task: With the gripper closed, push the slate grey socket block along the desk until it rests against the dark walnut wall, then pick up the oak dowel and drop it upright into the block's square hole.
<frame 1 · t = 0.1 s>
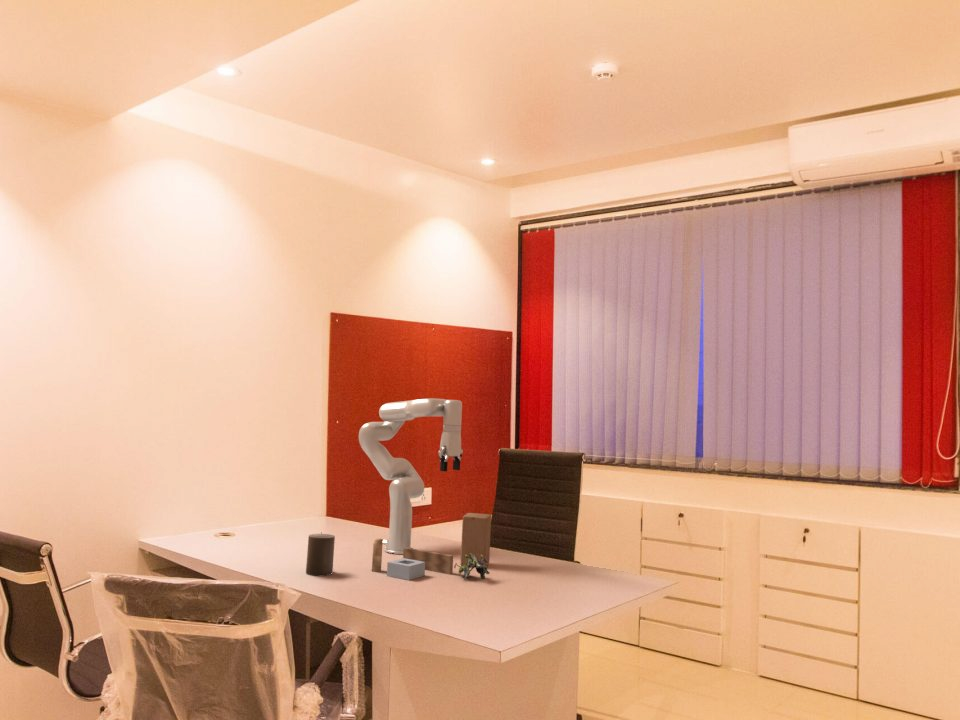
hand: (450, 470, 320), 37 cm above the table, tool pointing down, fingers open, 9 cm apart
socket block: (406, 568, 285), point 3 cm above the table, slide at 0.0 cm
pillar candle: (319, 573, 284), on the table
wooden block: (474, 565, 311), on the table
passion flower: (472, 579, 286), on the table
walnut wall: (427, 570, 297), on the table
oak dowel: (376, 571, 291), on the table
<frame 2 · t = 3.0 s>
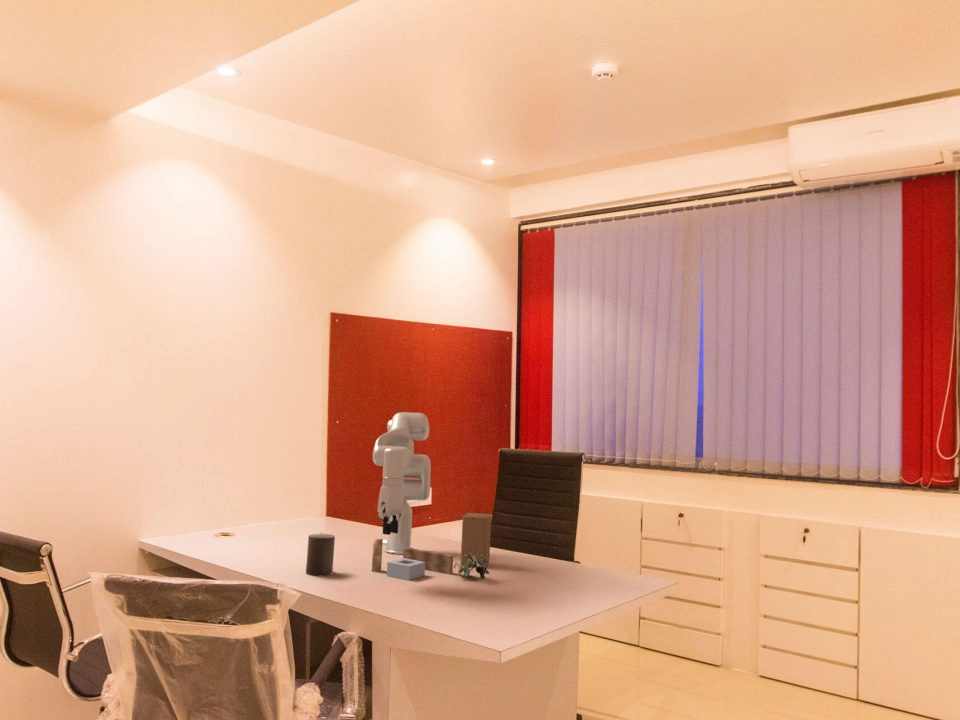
hand: (390, 533, 277), 17 cm above the table, tool pointing down, fingers open, 3 cm apart
nothing on the table moved.
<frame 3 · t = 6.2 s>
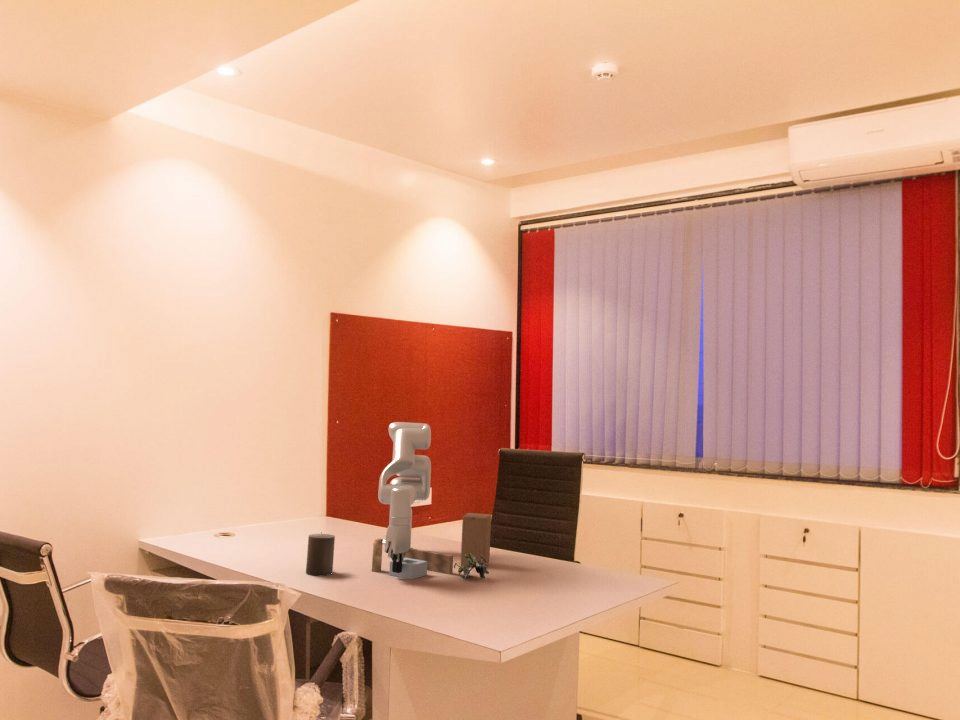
hand: (396, 572, 281), 2 cm above the table, tool pointing down, fingers closed
socket block: (408, 568, 287), point 3 cm above the table, slide at 1.5 cm, touching gripper
everything else where it was.
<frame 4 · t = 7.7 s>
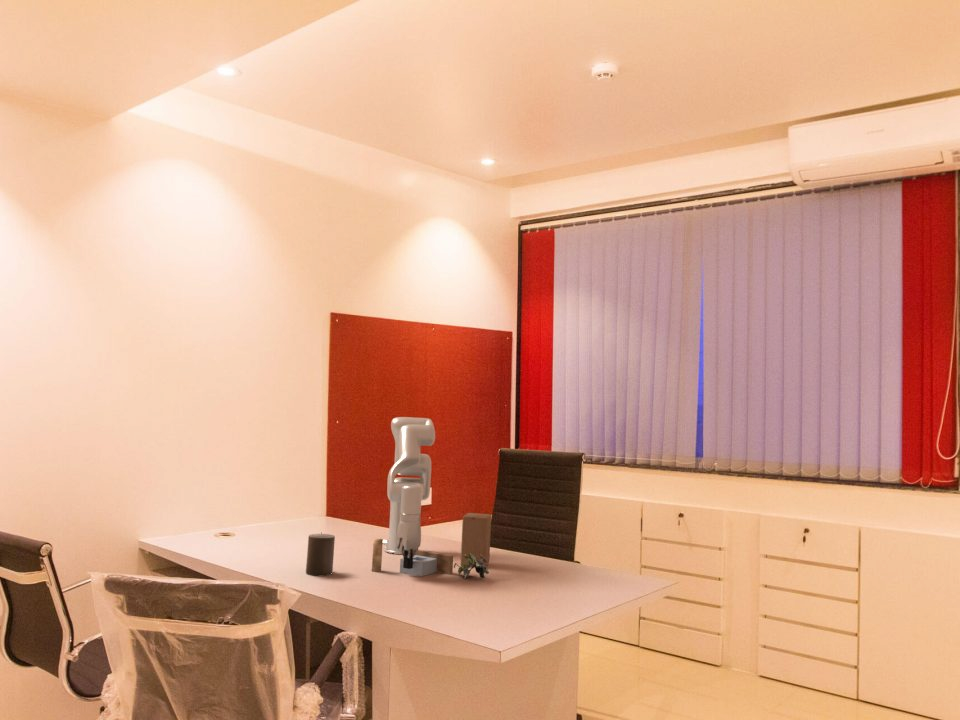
hand: (407, 568, 286), 3 cm above the table, tool pointing down, fingers closed
socket block: (418, 565, 292), point 3 cm above the table, slide at 8.0 cm, touching gripper, walnut wall
everything else where it was.
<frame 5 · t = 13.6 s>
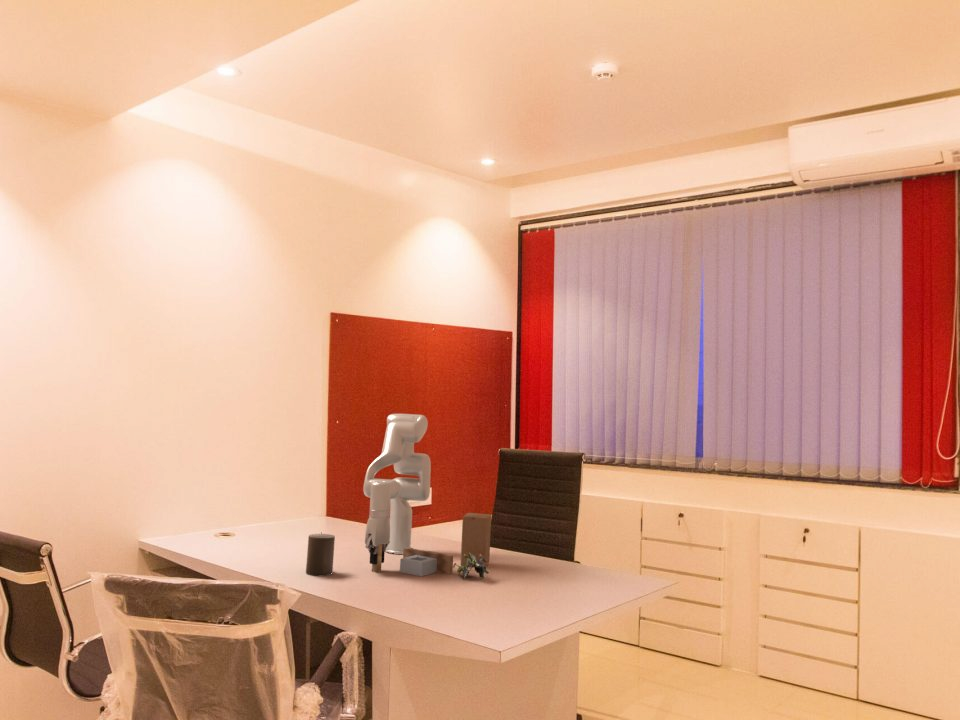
hand: (376, 562, 291), 3 cm above the table, tool pointing down, fingers closed on oak dowel, 3 cm apart
socket block: (418, 565, 292), point 3 cm above the table, slide at 8.0 cm, touching walnut wall
oak dowel: (376, 571, 291), on the table, touching gripper
everything else where it was.
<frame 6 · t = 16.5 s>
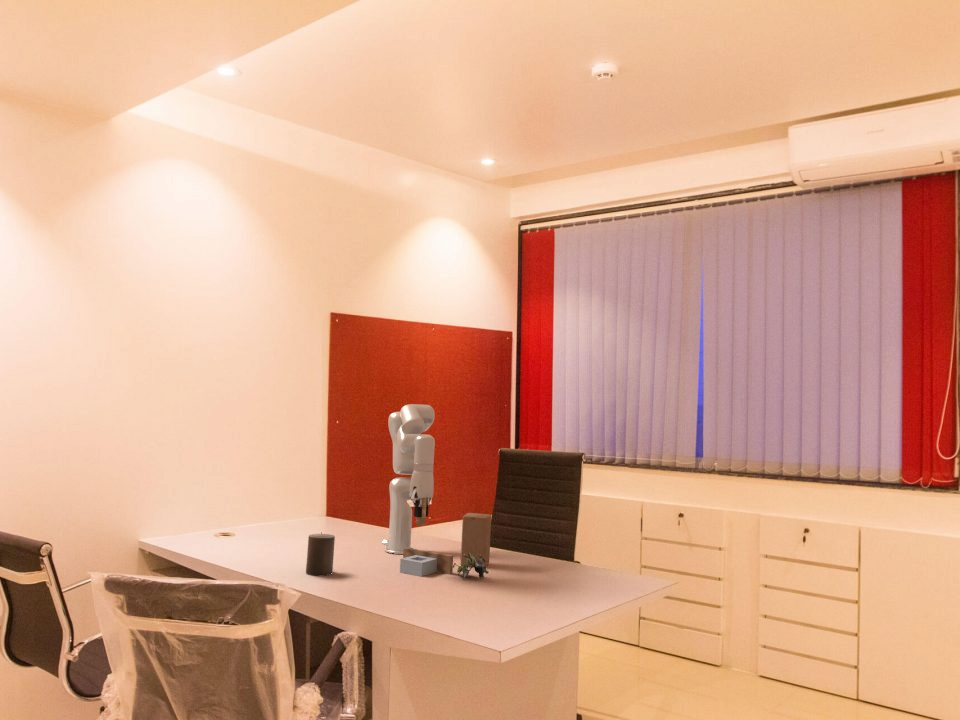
hand: (421, 516, 293), 21 cm above the table, tool pointing down, fingers closed on oak dowel, 3 cm apart
oak dowel: (420, 524, 293), point 18 cm above the table, touching gripper
everything else where it was.
when the fingers open (6 cm above the table, at t = 19.4 s): oak dowel drops 2 cm, resting on socket block.
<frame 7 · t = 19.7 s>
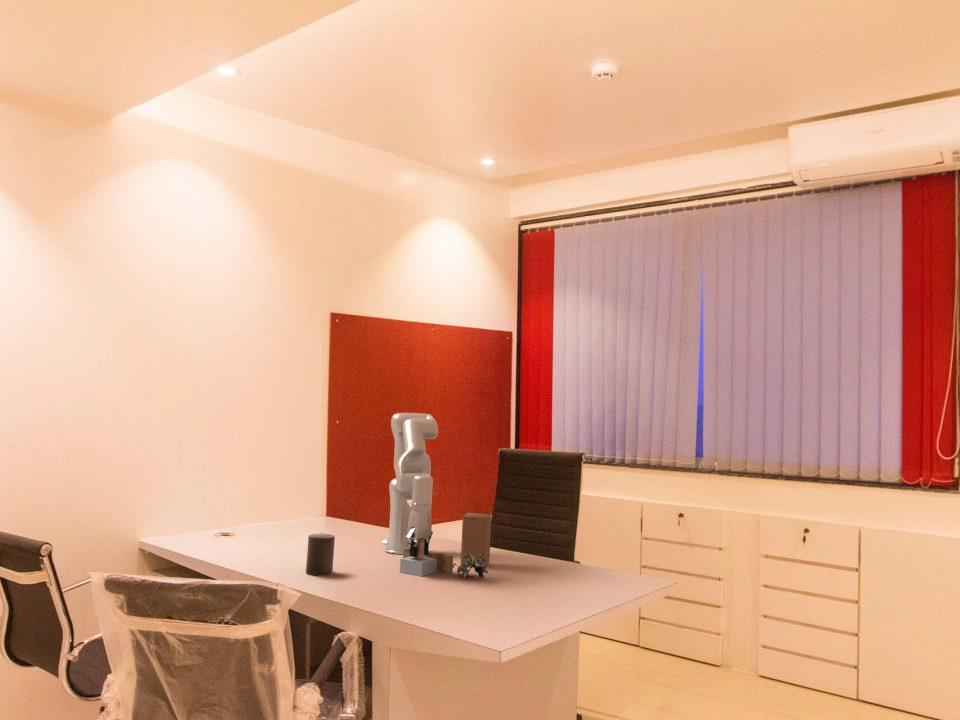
hand: (419, 554, 292), 7 cm above the table, tool pointing down, fingers open, 6 cm apart
socket block: (418, 565, 292), point 3 cm above the table, slide at 8.0 cm, touching oak dowel
oak dowel: (418, 569, 292), point 1 cm above the table, touching socket block
everything else where it was.
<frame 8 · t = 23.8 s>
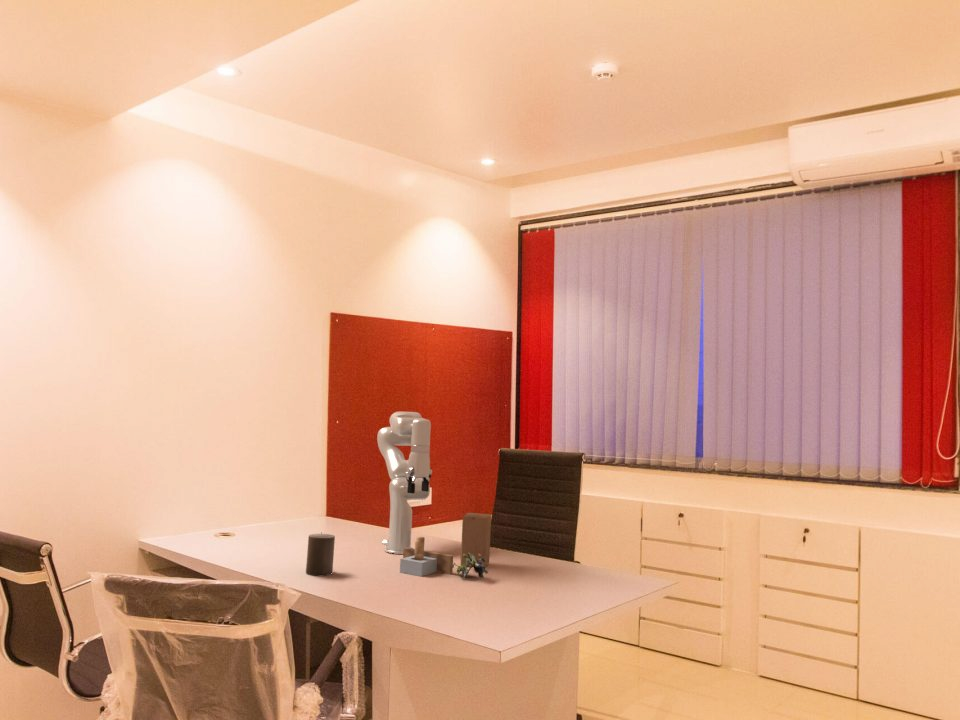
hand: (418, 492, 310), 28 cm above the table, tool pointing down, fingers open, 9 cm apart
at the end: socket block slide at 8.0 cm; oak dowel 0.1 cm off-centre on the socket block, point 1.0 cm above the socket block's base; oak dowel tilted 0° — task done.
